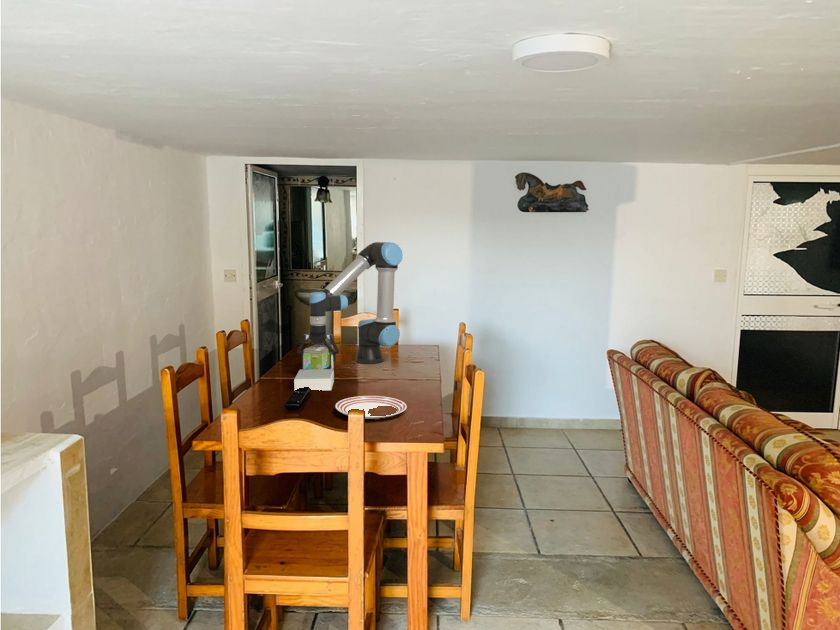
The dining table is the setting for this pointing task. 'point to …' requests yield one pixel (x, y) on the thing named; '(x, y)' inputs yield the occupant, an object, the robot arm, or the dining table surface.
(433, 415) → the dining table surface
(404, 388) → the dining table surface
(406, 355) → the dining table surface
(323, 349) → the tea box
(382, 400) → the dinner plate
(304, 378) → the plinth
